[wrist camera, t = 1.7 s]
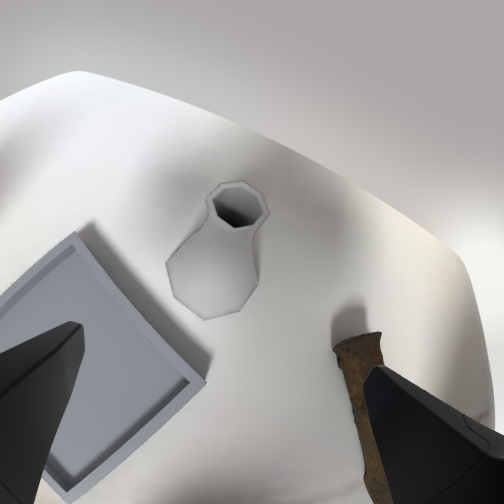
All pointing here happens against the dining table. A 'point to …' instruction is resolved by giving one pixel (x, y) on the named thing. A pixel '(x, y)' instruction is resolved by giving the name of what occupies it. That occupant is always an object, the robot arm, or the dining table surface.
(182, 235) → the dining table surface
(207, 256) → the flask
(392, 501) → the robot arm
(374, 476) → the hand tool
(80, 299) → the parts tray
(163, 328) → the dining table surface
